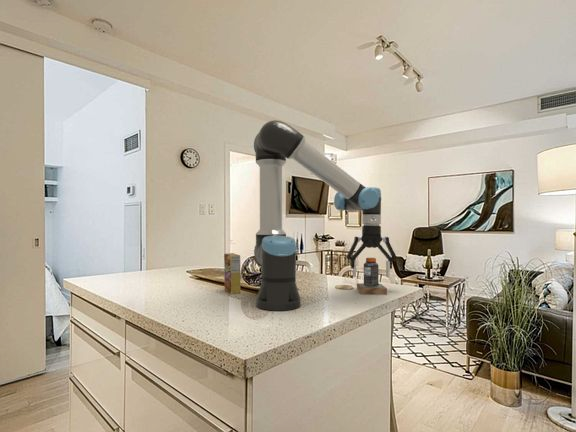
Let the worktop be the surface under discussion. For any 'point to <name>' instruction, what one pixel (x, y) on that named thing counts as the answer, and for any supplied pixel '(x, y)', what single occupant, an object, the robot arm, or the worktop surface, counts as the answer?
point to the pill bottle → (371, 272)
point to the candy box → (232, 272)
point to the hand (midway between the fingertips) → (371, 276)
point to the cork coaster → (344, 287)
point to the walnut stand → (372, 289)
